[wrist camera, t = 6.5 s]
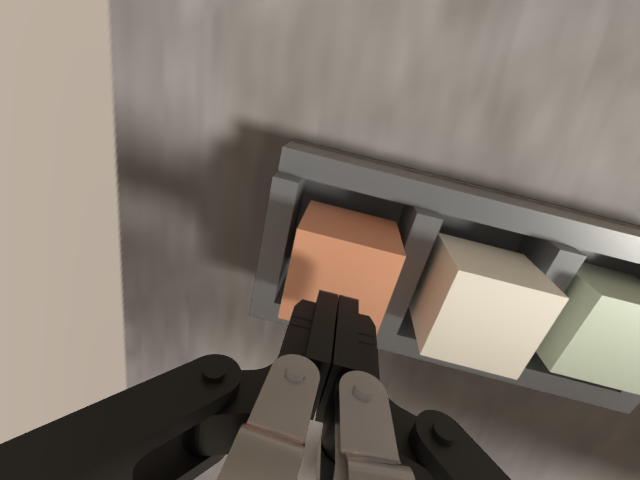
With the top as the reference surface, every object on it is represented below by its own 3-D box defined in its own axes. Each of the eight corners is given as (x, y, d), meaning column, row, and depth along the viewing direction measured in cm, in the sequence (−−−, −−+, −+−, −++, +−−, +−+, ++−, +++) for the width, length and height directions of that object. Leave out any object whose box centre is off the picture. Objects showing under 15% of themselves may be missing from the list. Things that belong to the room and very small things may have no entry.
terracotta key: (396, 221, 17) (406, 256, 13) (371, 294, 18) (373, 342, 15) (311, 199, 17) (296, 228, 13) (294, 274, 19) (277, 317, 15)
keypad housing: (675, 235, 18) (755, 270, 14) (583, 360, 22) (629, 414, 18) (294, 139, 18) (276, 149, 14) (267, 278, 22) (248, 315, 18)
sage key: (634, 275, 18) (705, 321, 14) (588, 339, 19) (641, 395, 16) (552, 254, 18) (602, 295, 14) (514, 320, 19) (549, 371, 16)
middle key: (523, 254, 17) (569, 298, 13) (486, 323, 18) (517, 380, 15) (437, 232, 17) (458, 270, 13) (408, 303, 18) (419, 354, 15)
